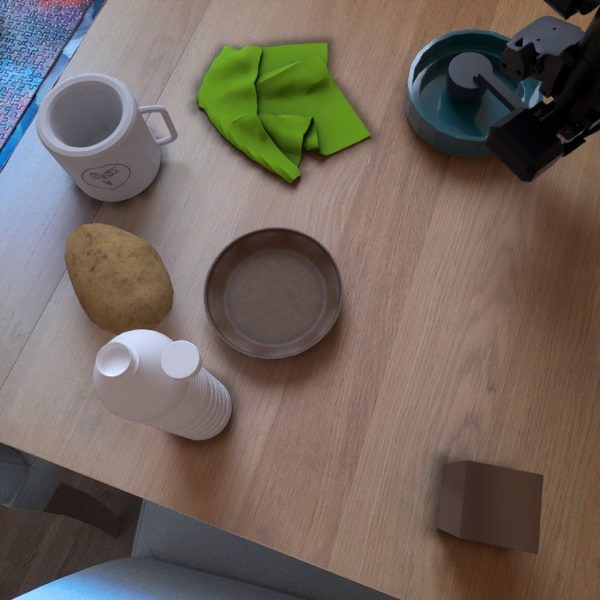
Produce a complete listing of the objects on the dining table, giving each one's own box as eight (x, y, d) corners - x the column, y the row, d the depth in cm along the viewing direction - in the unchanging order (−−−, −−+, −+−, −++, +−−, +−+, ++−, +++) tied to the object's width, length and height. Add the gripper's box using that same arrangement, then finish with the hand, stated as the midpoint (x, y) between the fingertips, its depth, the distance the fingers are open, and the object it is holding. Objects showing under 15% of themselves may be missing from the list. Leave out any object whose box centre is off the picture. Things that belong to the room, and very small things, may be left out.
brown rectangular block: (505, 475, 55) (543, 474, 45) (500, 541, 54) (538, 554, 44) (443, 463, 56) (467, 459, 46) (436, 527, 54) (459, 538, 44)
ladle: (436, 81, 67) (441, 58, 64) (468, 58, 68) (475, 35, 64) (530, 175, 63) (542, 156, 59) (564, 150, 64) (578, 130, 60)
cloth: (207, 39, 74) (203, 24, 71) (377, 45, 72) (378, 31, 69) (182, 178, 67) (177, 167, 65) (367, 188, 66) (368, 178, 63)
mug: (79, 212, 67) (37, 168, 57) (70, 136, 70) (29, 82, 61) (191, 187, 67) (167, 138, 57) (177, 112, 70) (153, 54, 61)
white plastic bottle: (168, 440, 58) (53, 410, 34) (173, 377, 60) (69, 308, 36) (252, 441, 58) (195, 412, 34) (255, 378, 60) (203, 308, 36)
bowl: (536, 61, 70) (548, 37, 66) (527, 168, 65) (539, 149, 61) (412, 47, 71) (417, 22, 68) (395, 150, 67) (399, 131, 63)
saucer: (200, 250, 64) (194, 240, 62) (327, 224, 65) (326, 214, 62) (219, 376, 60) (213, 372, 57) (355, 348, 60) (356, 342, 57)
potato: (130, 222, 66) (103, 188, 58) (204, 307, 62) (187, 283, 55) (62, 275, 64) (25, 248, 57) (134, 366, 61) (106, 349, 53)
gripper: (624, -62, 51) (558, 61, 66) (465, 45, 48) (434, 148, 63) (723, 14, 48) (631, 125, 62) (559, 133, 45) (503, 220, 60)
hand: (548, 152), depth 62 cm, fingers closed on ladle
